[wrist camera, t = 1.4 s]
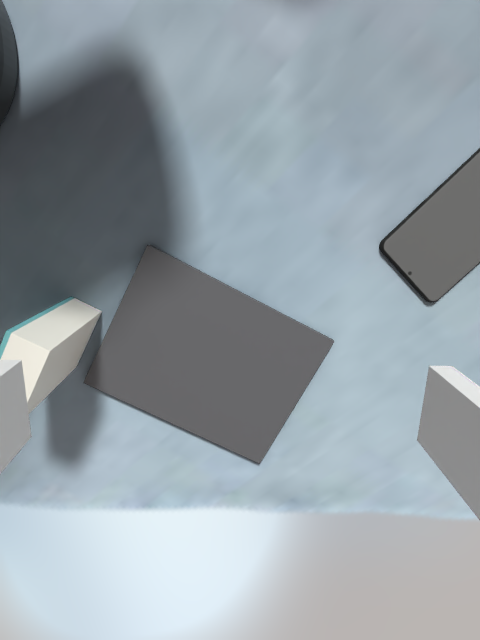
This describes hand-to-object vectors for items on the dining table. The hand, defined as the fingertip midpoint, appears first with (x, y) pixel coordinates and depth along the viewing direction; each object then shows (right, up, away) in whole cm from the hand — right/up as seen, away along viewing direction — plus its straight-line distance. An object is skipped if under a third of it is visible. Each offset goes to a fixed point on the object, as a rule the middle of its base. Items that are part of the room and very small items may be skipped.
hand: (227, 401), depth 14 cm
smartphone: (+19, +12, +20) cm, 30 cm away
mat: (-2, -1, +22) cm, 22 cm away
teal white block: (-13, +2, +21) cm, 25 cm away
